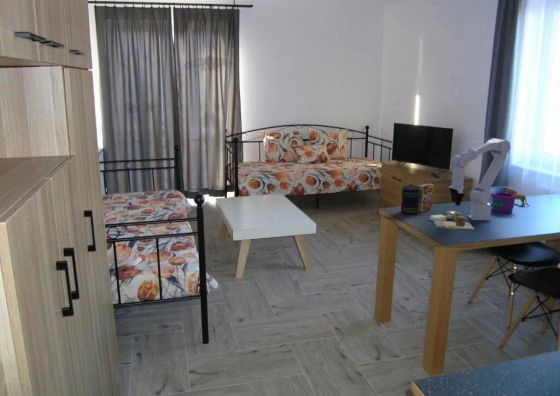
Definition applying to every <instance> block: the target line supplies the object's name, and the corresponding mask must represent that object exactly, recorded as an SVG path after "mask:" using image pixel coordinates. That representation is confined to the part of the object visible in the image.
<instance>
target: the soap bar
mask: <svg viewBox="0 0 560 396" xmlns="http://www.w3.org/2000/svg"><path fill="white" fill-rule="evenodd" d="M429 220H430V221H432V222H433V221H447V219H446V216H445V215H443V214H440V213H439V214H435V215H434V214H431V215H430V216H429Z"/></svg>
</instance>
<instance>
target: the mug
mask: <svg viewBox="0 0 560 396" xmlns="http://www.w3.org/2000/svg"><path fill="white" fill-rule="evenodd" d="M505 192H506V191H504V192H501V191H500V192H498V191H497V192H494V193H492V194H491V197H492V203H490V205H491V209H492V210H493V211H494V212H495V213H499V214H510V213H512V212H513V210H514V206H515V202H516V201H515V200H516V199H515V195H514V194H511V193H505Z"/></svg>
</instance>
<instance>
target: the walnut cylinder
mask: <svg viewBox="0 0 560 396" xmlns="http://www.w3.org/2000/svg"><path fill="white" fill-rule="evenodd" d="M465 222H466V217H465V216H462V215H461V216H457V217H456V225H457V226H465Z"/></svg>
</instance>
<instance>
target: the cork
mask: <svg viewBox="0 0 560 396" xmlns="http://www.w3.org/2000/svg"><path fill="white" fill-rule="evenodd" d="M457 216H462V213H461V212H459V211H456V212H455V220H453V222H456V217H457Z"/></svg>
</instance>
